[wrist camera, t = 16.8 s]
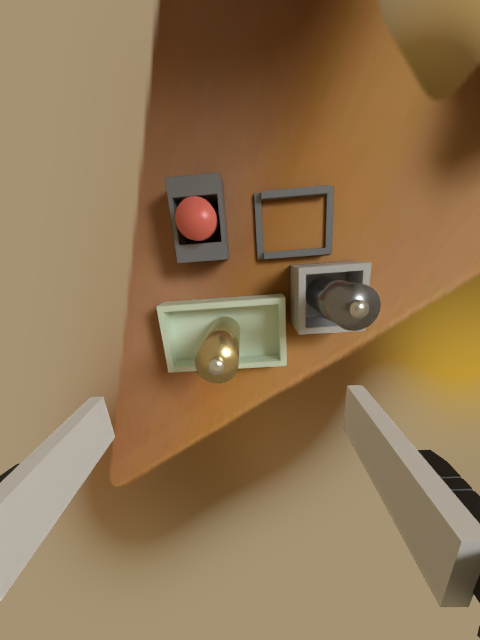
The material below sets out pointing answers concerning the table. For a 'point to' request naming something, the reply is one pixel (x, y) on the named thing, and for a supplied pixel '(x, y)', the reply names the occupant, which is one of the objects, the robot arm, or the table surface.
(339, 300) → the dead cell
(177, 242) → the button housing
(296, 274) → the bin
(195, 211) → the button
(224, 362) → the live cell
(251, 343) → the trough
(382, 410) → the robot arm
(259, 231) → the empty grey frame
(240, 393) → the table surface
